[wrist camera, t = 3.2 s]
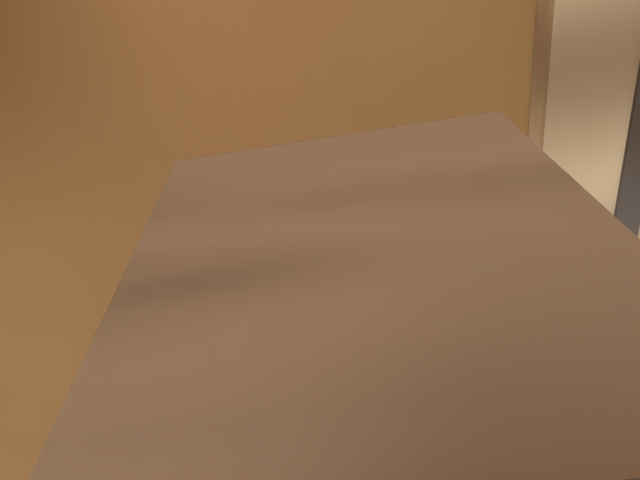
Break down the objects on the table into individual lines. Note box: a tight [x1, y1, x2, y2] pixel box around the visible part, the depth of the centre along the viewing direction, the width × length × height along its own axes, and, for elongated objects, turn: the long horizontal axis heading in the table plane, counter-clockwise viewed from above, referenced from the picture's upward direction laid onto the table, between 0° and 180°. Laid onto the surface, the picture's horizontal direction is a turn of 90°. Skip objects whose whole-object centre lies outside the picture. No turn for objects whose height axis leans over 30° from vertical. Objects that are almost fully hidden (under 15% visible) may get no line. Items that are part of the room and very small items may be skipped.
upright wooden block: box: [28, 111, 640, 480], centre depth 7 cm, size 7×5×6 cm
